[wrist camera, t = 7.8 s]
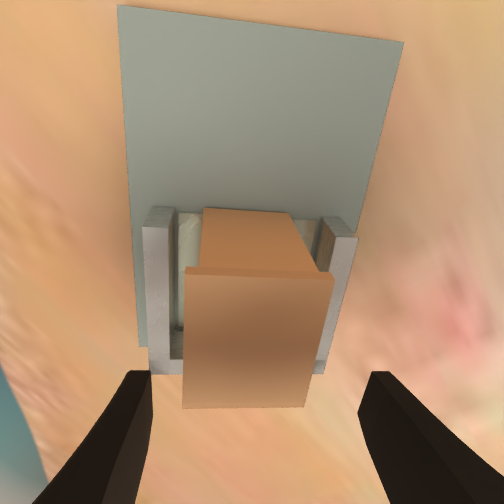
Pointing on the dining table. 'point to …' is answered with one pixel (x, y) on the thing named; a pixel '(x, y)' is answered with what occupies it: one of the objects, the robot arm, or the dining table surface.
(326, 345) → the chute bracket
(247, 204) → the deck plate
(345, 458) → the dining table surface
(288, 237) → the chute block
